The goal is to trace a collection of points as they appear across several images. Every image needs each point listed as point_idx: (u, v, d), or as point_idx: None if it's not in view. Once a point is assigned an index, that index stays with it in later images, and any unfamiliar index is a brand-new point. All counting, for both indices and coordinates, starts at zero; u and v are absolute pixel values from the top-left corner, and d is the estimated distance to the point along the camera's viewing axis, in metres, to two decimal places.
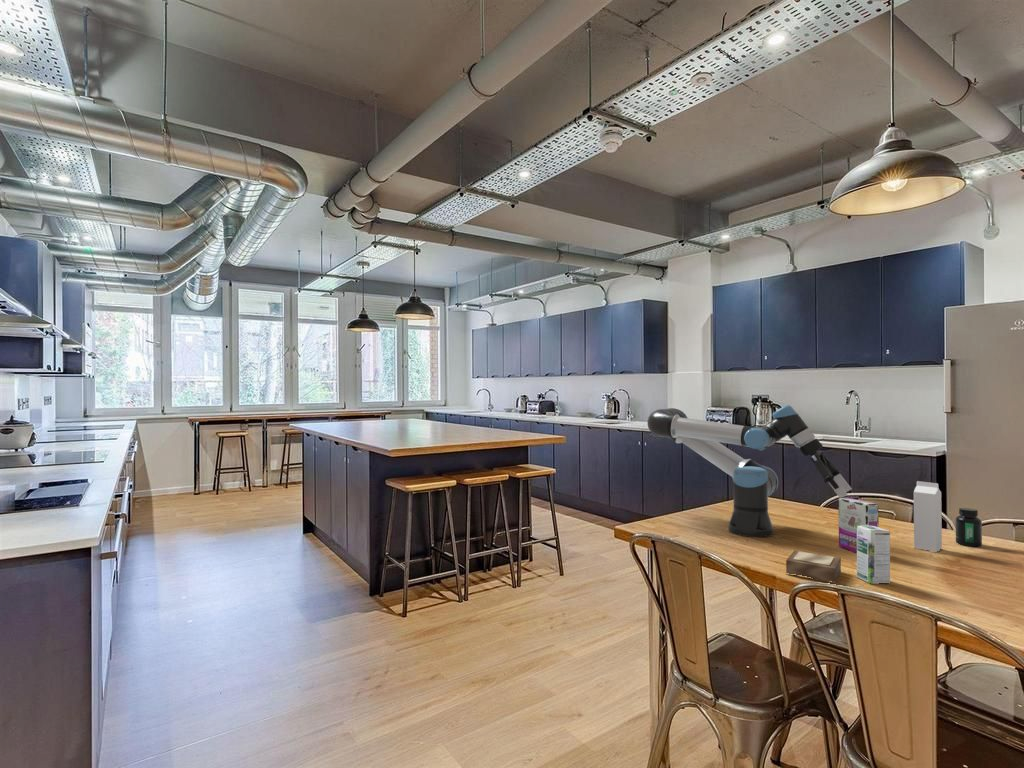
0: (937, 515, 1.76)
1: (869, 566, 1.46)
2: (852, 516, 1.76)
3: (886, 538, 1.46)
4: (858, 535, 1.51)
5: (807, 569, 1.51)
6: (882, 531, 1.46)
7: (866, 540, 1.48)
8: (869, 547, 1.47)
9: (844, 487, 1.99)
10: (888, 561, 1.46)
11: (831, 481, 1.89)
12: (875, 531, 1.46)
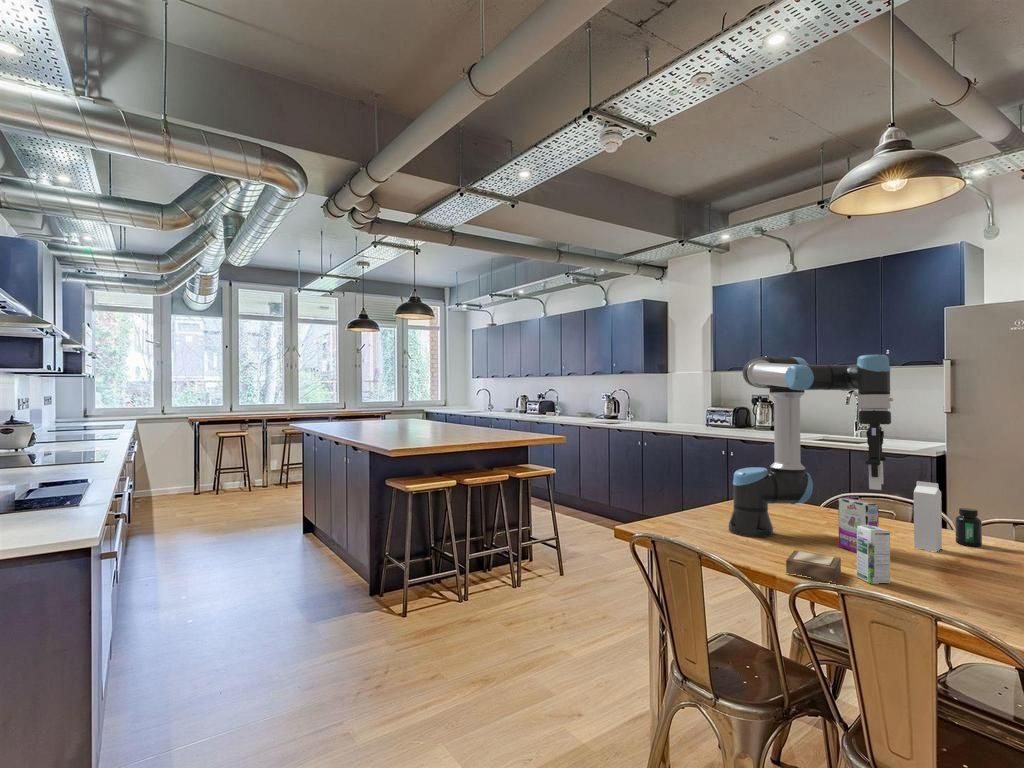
0: (937, 515, 1.76)
1: (869, 566, 1.46)
2: (852, 516, 1.76)
3: (886, 538, 1.46)
4: (858, 535, 1.51)
5: (807, 569, 1.51)
6: (882, 531, 1.46)
7: (866, 540, 1.48)
8: (869, 547, 1.47)
9: None
10: (888, 561, 1.46)
11: (874, 466, 1.44)
12: (875, 531, 1.46)
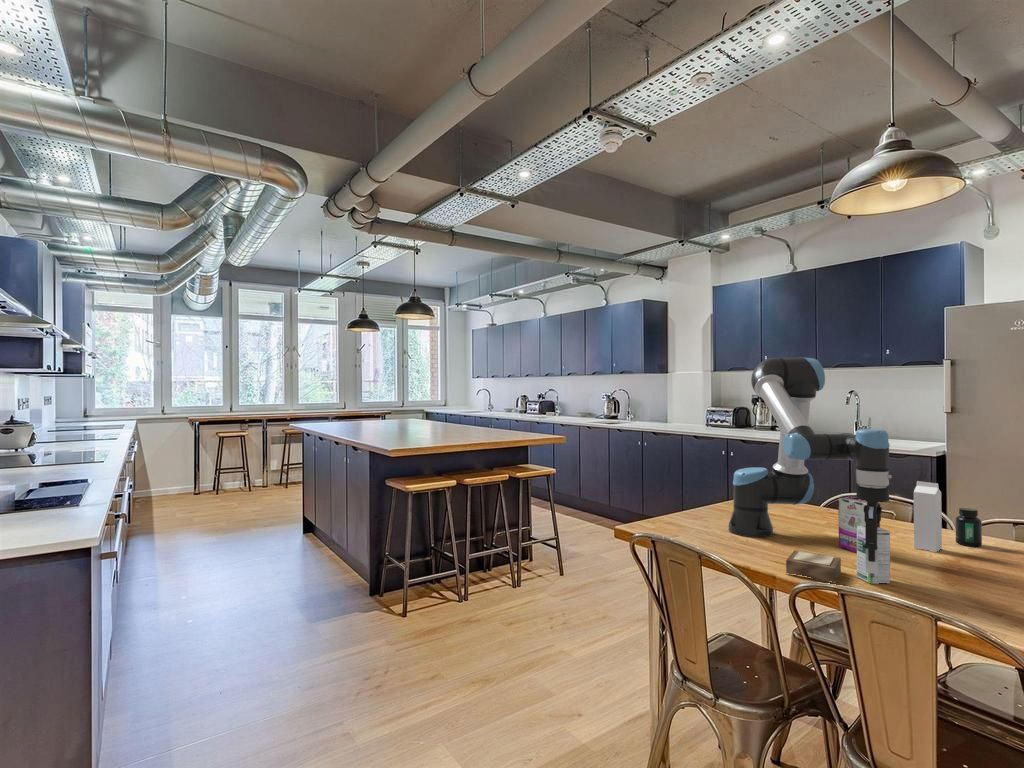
0: (937, 515, 1.76)
1: None
2: (852, 516, 1.76)
3: (886, 538, 1.46)
4: (858, 535, 1.51)
5: (807, 569, 1.51)
6: (882, 531, 1.46)
7: None
8: None
9: None
10: (888, 561, 1.46)
11: (871, 551, 1.44)
12: None
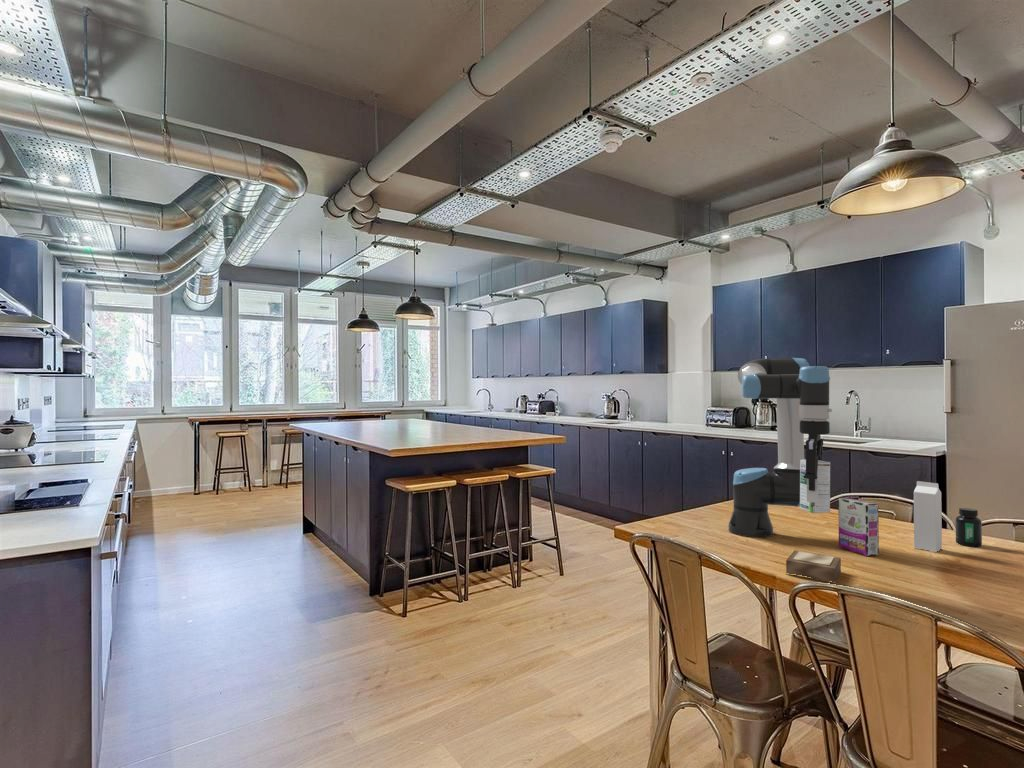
0: (937, 515, 1.76)
1: None
2: (852, 516, 1.76)
3: (826, 469, 1.53)
4: (801, 468, 1.57)
5: (807, 569, 1.51)
6: (822, 462, 1.53)
7: None
8: None
9: None
10: (828, 491, 1.53)
11: (811, 480, 1.51)
12: None
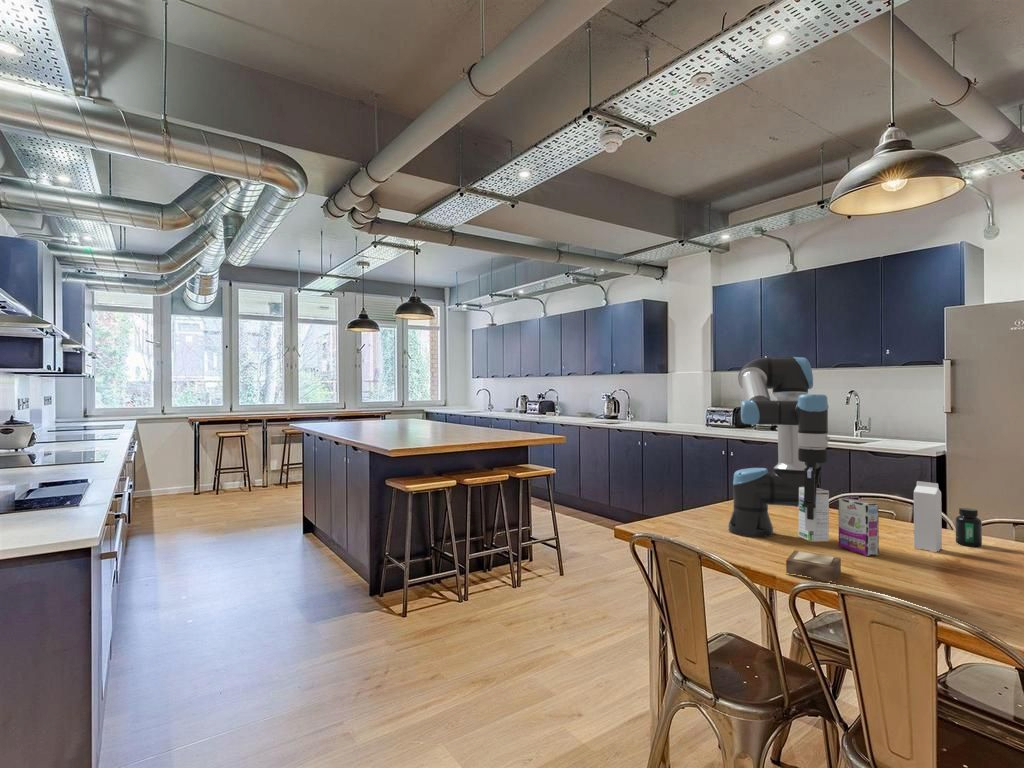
0: (937, 515, 1.76)
1: None
2: (852, 516, 1.76)
3: (825, 497, 1.53)
4: (800, 496, 1.57)
5: (807, 569, 1.51)
6: (821, 491, 1.53)
7: None
8: None
9: None
10: (827, 519, 1.53)
11: (809, 509, 1.51)
12: None
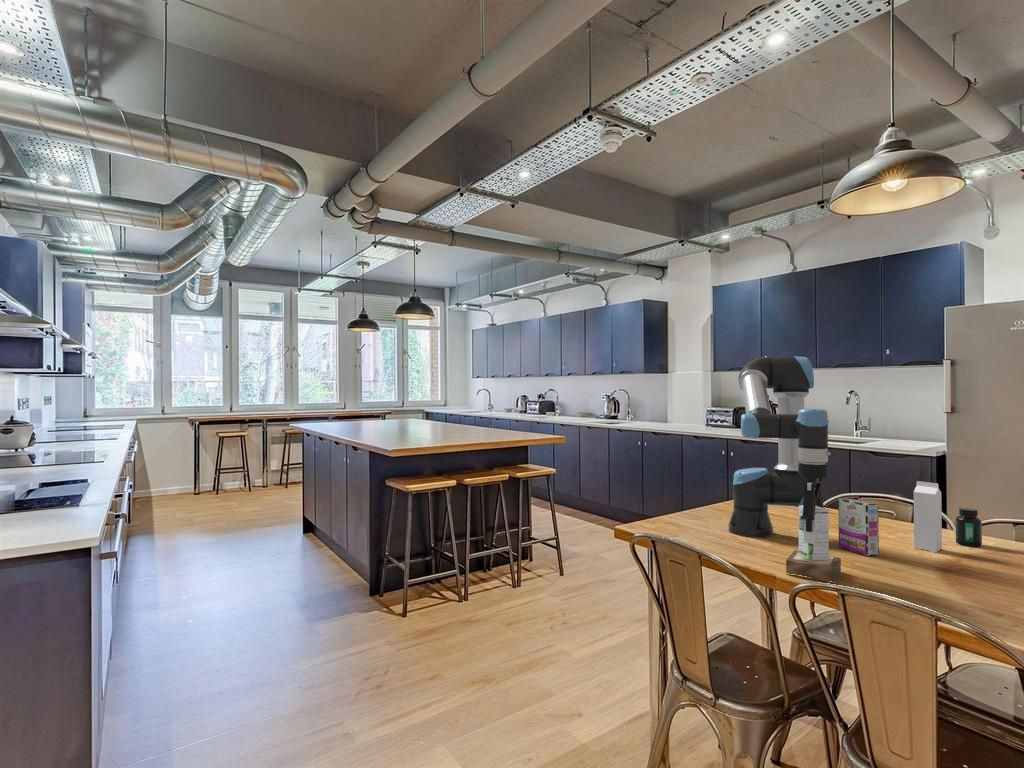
0: (937, 515, 1.76)
1: (808, 543, 1.53)
2: (852, 516, 1.76)
3: (825, 516, 1.53)
4: (800, 514, 1.57)
5: (807, 569, 1.51)
6: (821, 510, 1.53)
7: None
8: None
9: None
10: (827, 539, 1.53)
11: (808, 521, 1.49)
12: None
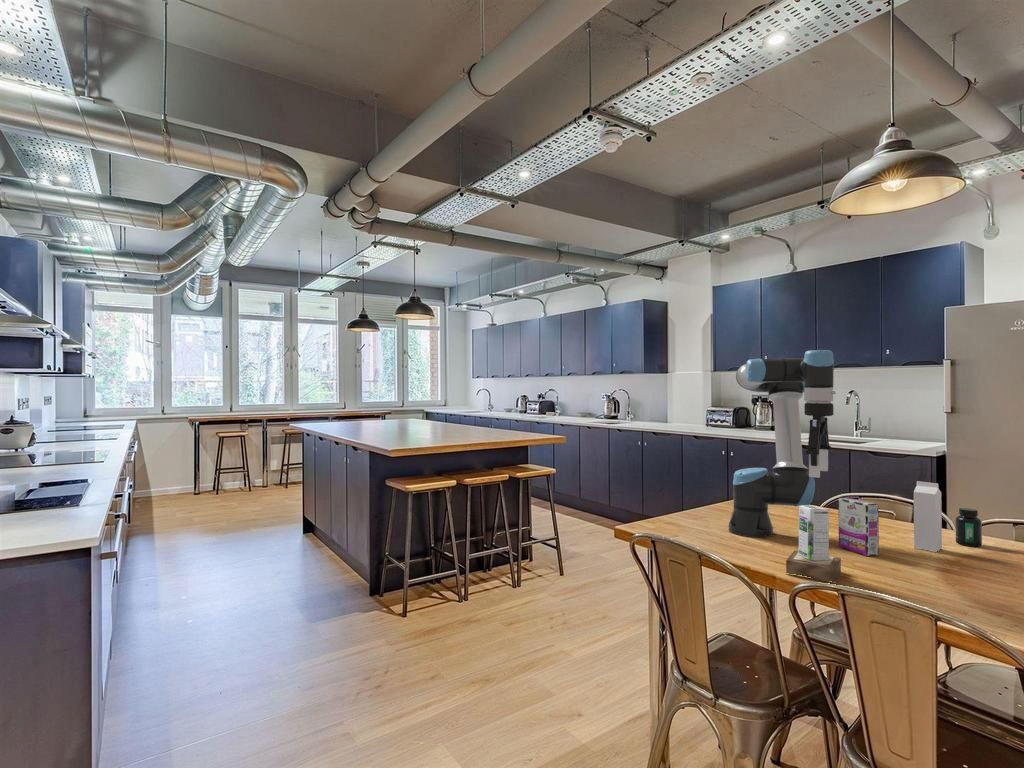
0: (937, 515, 1.76)
1: (808, 543, 1.53)
2: (852, 516, 1.76)
3: (825, 517, 1.53)
4: (800, 514, 1.57)
5: (807, 569, 1.51)
6: (821, 510, 1.53)
7: (806, 518, 1.54)
8: (808, 525, 1.53)
9: (821, 465, 1.66)
10: (827, 539, 1.53)
11: (813, 456, 1.54)
12: (814, 510, 1.53)
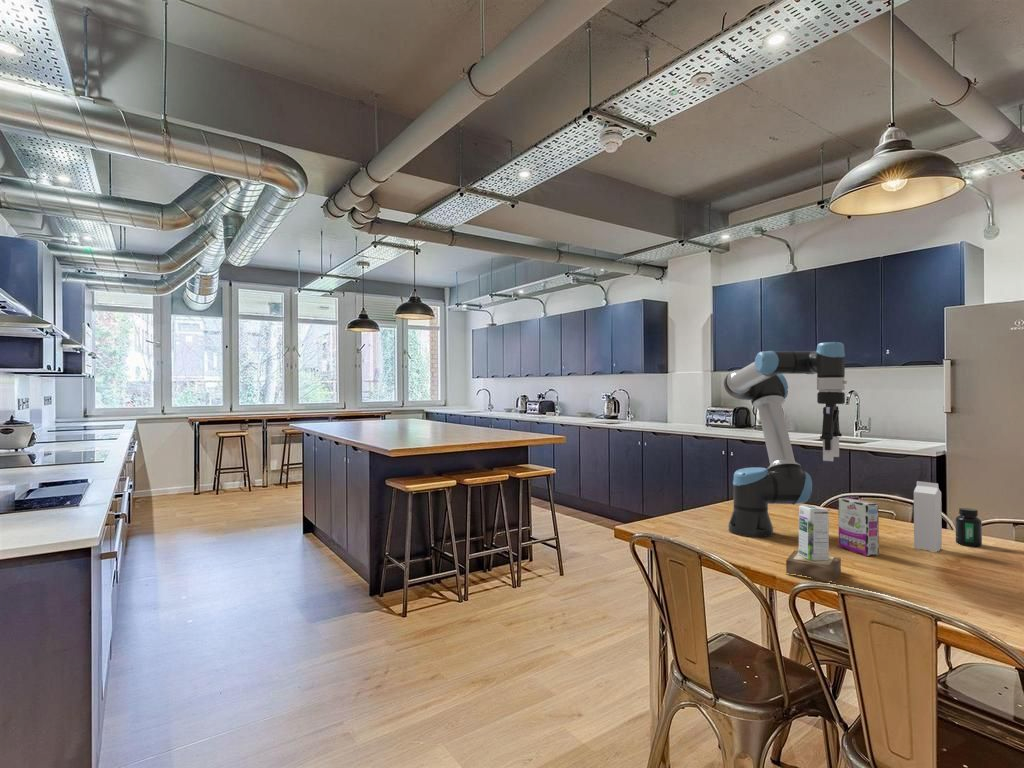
0: (937, 515, 1.76)
1: (808, 543, 1.53)
2: (852, 516, 1.76)
3: (825, 517, 1.53)
4: (800, 514, 1.57)
5: (807, 569, 1.51)
6: (821, 510, 1.53)
7: (806, 518, 1.54)
8: (808, 525, 1.53)
9: (833, 451, 1.76)
10: (827, 539, 1.53)
11: (827, 441, 1.64)
12: (814, 510, 1.53)
